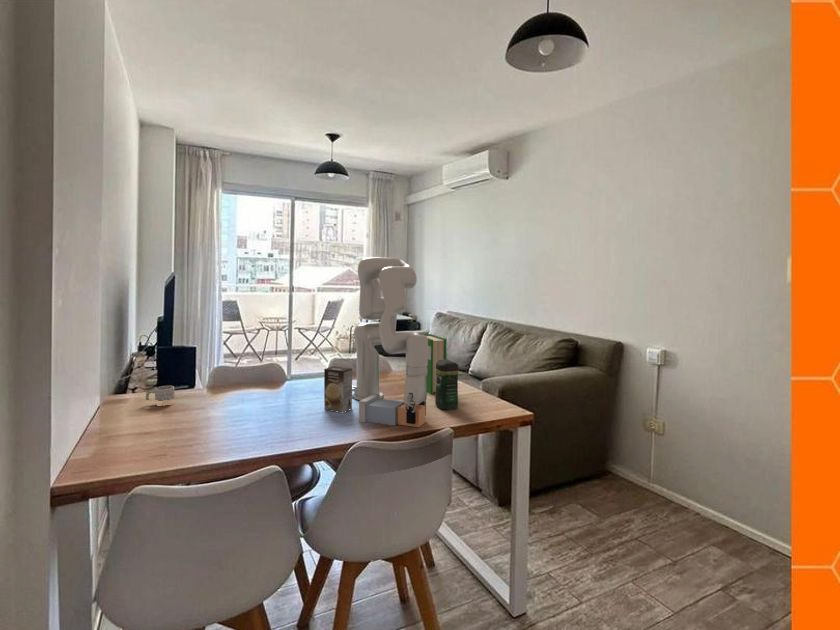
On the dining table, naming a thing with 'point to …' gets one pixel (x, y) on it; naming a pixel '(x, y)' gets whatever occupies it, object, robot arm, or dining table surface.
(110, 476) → the dining table surface
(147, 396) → the mug
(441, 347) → the hardback book
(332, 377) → the coffee box
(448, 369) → the coffee jar
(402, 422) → the peach rectangular block
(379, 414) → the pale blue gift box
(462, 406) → the dining table surface
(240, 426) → the dining table surface
